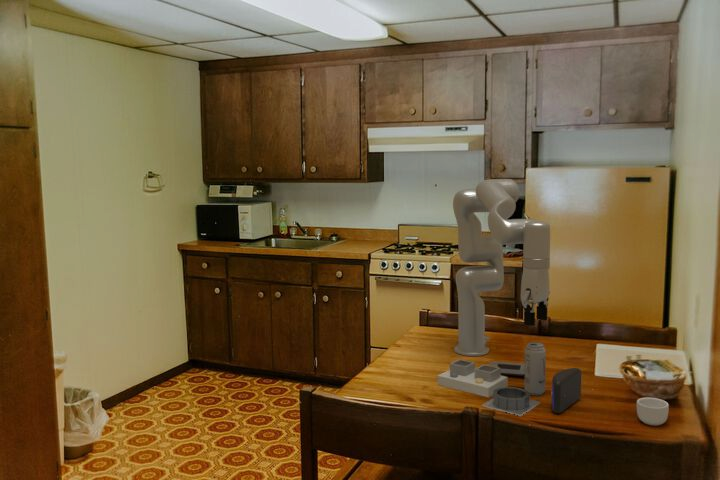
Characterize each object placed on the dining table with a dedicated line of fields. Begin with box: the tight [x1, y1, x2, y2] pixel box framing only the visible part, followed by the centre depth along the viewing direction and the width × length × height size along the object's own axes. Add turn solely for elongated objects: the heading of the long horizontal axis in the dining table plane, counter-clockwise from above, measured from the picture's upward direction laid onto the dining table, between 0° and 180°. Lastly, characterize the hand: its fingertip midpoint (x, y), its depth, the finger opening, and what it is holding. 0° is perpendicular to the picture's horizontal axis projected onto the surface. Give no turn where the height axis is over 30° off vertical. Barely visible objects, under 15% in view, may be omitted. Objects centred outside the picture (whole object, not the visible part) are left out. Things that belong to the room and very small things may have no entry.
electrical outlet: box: [488, 360, 525, 378], centre depth 210 cm, size 13×10×2 cm
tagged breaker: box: [479, 366, 496, 372], centre depth 196 cm, size 4×4×2 cm
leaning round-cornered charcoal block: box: [550, 367, 582, 414], centre depth 181 cm, size 16×5×9 cm, turn 140°
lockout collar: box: [481, 386, 541, 417], centre depth 182 cm, size 12×12×4 cm
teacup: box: [636, 397, 670, 427], centre depth 169 cm, size 10×8×5 cm
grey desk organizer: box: [437, 359, 509, 398], centre depth 198 cm, size 12×18×6 cm, turn 49°
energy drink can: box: [524, 341, 547, 397], centre depth 190 cm, size 6×6×15 cm
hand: (535, 321), depth 189 cm, fingers open, 7 cm apart
